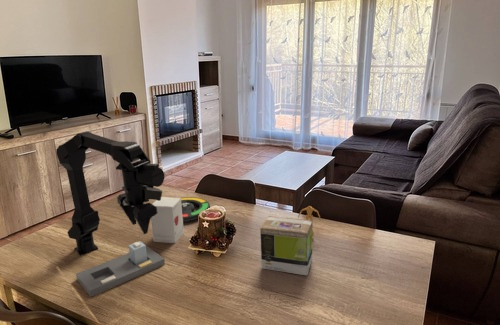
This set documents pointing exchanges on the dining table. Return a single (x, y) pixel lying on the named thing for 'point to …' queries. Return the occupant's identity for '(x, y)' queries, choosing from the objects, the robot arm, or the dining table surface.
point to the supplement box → (167, 220)
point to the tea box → (286, 245)
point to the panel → (116, 272)
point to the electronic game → (192, 207)
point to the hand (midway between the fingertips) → (139, 228)
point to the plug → (137, 253)
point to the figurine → (309, 212)
